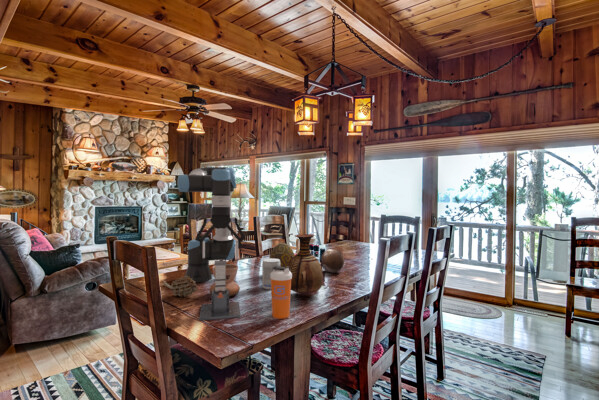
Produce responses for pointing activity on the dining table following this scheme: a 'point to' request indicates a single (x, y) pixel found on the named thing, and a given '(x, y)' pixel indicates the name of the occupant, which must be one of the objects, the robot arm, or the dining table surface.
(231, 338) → the dining table surface
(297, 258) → the vase
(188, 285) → the pine cone
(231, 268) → the ceramic jug
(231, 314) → the stand base
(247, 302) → the dining table surface
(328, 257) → the wooden sphere
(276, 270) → the shaker bottle
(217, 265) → the column
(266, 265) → the supplement tub
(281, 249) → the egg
